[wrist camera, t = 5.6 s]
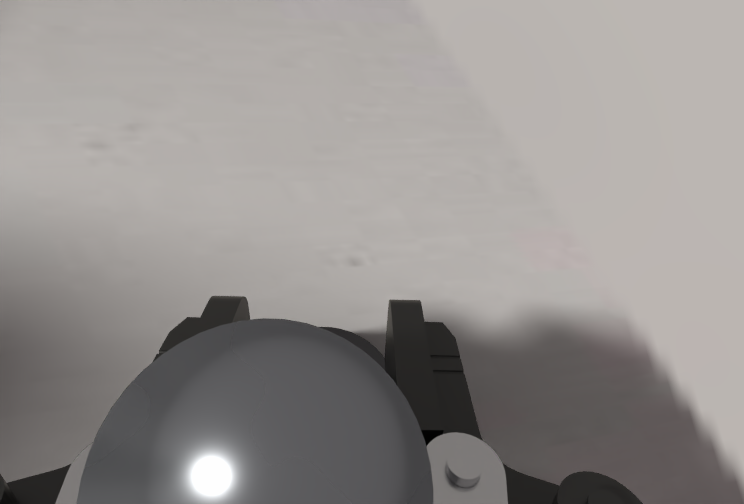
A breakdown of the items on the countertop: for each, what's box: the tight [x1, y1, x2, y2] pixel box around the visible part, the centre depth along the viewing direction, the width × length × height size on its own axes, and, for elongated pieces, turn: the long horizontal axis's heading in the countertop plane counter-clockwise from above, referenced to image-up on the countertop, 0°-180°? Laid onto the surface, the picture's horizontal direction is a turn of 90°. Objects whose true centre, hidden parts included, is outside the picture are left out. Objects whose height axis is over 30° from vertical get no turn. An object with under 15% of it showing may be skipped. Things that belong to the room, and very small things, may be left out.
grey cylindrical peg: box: [76, 319, 433, 504], centre depth 10 cm, size 4×4×11 cm
